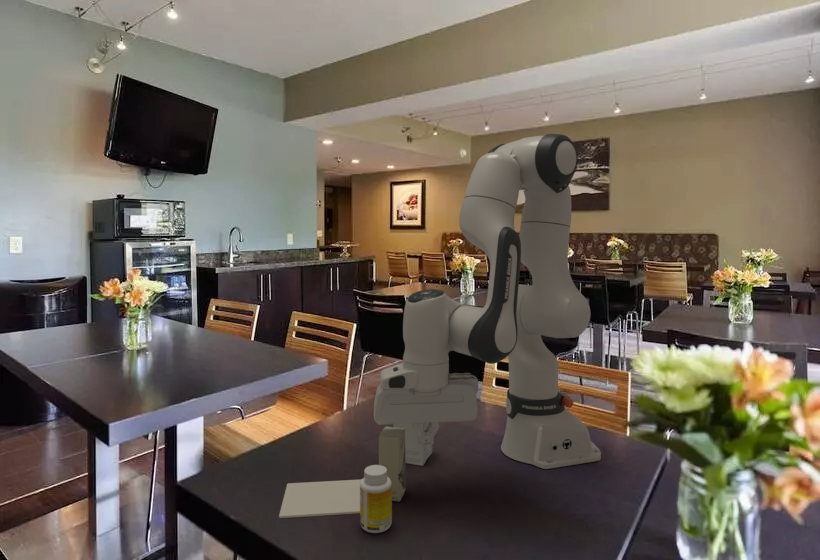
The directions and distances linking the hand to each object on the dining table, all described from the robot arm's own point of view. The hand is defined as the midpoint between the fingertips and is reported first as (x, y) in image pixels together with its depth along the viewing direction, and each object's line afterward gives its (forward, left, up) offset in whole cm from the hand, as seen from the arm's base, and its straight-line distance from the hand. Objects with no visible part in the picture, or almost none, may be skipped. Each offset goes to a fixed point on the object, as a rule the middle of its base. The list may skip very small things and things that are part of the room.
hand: (425, 443), depth 100 cm
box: (+6, 0, -10) cm, 12 cm away
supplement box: (0, -16, -10) cm, 19 cm away
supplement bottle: (+10, +10, -10) cm, 18 cm away
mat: (+18, 0, -10) cm, 21 cm away
